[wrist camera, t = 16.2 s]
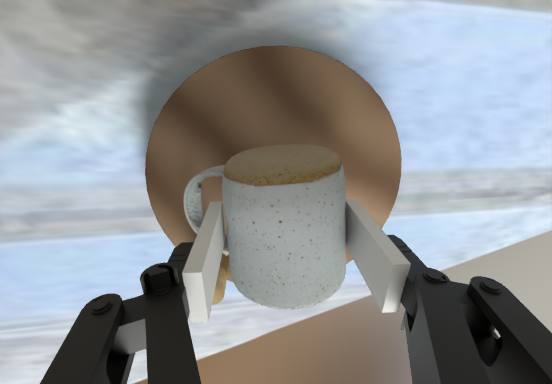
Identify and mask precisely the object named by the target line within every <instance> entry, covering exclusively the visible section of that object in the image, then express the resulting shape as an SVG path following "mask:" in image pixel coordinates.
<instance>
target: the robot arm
mask: <svg viewBox="0 0 552 384" xmlns="http://www.w3.org/2000/svg"><path fill="white" fill-rule="evenodd" d="M345 218H346V247H347V248H348V250H349V252H350V254H351V256H352V258H353V260H354V261H355V263H356V265H357V267H358V269H359V271H360V273H361V274H362V276H363V278H364V280H365V282H366V284H367V285H368V287H369V289H370V291H371V293H372V295H373V297H374V298H375V300H376V302H377V304H378V306H379V308H380V309H381V311H382V313H385V312H398V311H399V307H400V303H402V304H403V306H404V307H405V309H406V310H405V314H404V317H403V321H402V324H401V330H403V329H404V326H405V329H406V336H407V344H408V352H409V359H410V367H411V375H412V382H413V384H552V333H551V332H550V331H549V330H548V329H547V328H546V327H545V326H544V325H543V324H542V323H541V322H540V321H539V320H538V319H537V318H536V317H535V316H534V315H533V314H532V313H531V312H530V311H529V310H528V309H527V308H526V307H525V306H524V305H523V304H522V303H521V302H520V301H519V300H518V299H517V298H516V297H515V296H514V295H513V294H512V293H511V292H510V291H509V290H508V289H507V288H506V287H505V286H503V285H502V284H501V283H499V282H497V281H495V280H493V279H490V278H487V277H481V276H479V277H478V276H477V277H473V278H472V279H471V281H470V284H469V285H468V284H463V283H457V282H452V281H450V280H449V278H448V277H447V276H446V275H445V274H443V273H442V272H440V271H438V270H435V269H432V268H427V267H426V266H425V265H424V263H423V262H422V261H421V260H420V259H419V258H418V257H417V256H416V255H415V254H414V253H413V252H412V250H411V249H410V248H409V247H407V245H406V244H405V243H404V242H403V241H402V240H401V239H400V238H398V237H396V236H395V235H386V234H385V233H384V231H383V230H382V229H381V228H380V227H379V226H378V224H377V223H376V222H375V221H374V220H373V218H372V217H371V216H370V215H369V214H368V213H367V211H366V210H365V209H364V208H363V207H362V205H361V204H360V203H359V202H358V201H357V199H356V198H353V199H346V204H345ZM224 243H225V227H224V216H223V204H222V202H210V203H209V206H208V209H207V211H206V214H205V216H204V219H203V221H202V224H201V226H200V229H199V231H198V234H197V237H196V239H195V242H181V243H180V244H179V245H178V246H177V247H175V248H174V250H173V252H172V254H171V256H170V258H169V260H168V262H167V263H159V264H155V265H153V266H150V267H149V268H147V269H146V270H145V271H144V272H143V273H142V274H141V277H140V281H141V285H142V289H143V293H144V294H143V295H141V296H138V297H135V298H131V299H127V300H124V301H122V298H121V297H120V295H117V294H105V295H101V296H99V297H97V298H95V299H93V300H91V301H90V302H89V303H87V304H86V305H85V307H84V308H83V309H82V310H81V312H80V314H79V316H78V317H77V319H76V321H75V323H74V324H73V326H72V328H71V330H70V331H69V333H68V335H67V337H66V339H65V340H64V342H63V344H62V346H61V347H60V349H59V351H58V353H57V354H56V356H55V358H54V360H53V361H52V363H51V365H50V367H49V368H48V370H47V372H46V374H45V376H44V377H43V379H42V381H41V383H40V384H127V380H128V377H129V373H130V370H131V366H132V362H133V359H134V355H135V352H137V351H140V350H143V349H147V372H148V384H201V381H200V376H199V371H198V367H197V362H196V358H195V353H194V349H193V344H192V340H191V335H190V331H189V326H188V321H187V320H188V317H189V316H190V321H191V323H196V322H208V321H209V316H210V311H211V306H212V302H213V297H214V292H215V287H216V282H217V277H218V272H219V267H220V262H221V257H222V252H223V248H224ZM495 328H496V330H497V331H498V332H499V334H500V336H501V337H500V338H499V337H498V336H497V335H496V333H495V332H494V330H495Z"/></svg>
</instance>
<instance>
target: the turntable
mask: <svg viewBox="0 0 552 384" xmlns="http://www.w3.org/2000/svg"><path fill="white" fill-rule="evenodd" d="M282 144H308V145H317V146H322V147H326V148H328V149H331V150H332V151H333V152H335V153H336V154H337V155H338V156H339V158H340V159H341V161H342V165H343V169H344V175H345V185H346V199H353V198H356V199H357V201H358V202H359V203H360V204H361V205H362V207H363V208H364V209H365V210H366V211H367V213H368V214H369V215H370V216H371V217H372V218H373V220H374V221H375V222H376V223H377V224H378V226H379V227H380V228H381V229H382V227H383V225H384V224H385V222H386V220H387V219H388V217H389V214H390V212H391V210H392V208H393V205H394V203H395V200H396V196H397V193H398V189H399V183H400V177H401V151H400V143H399V139H398V135H397V131H396V127H395V125H394V122H393V120H392V118H391V115H390V113H389V111H388V109H387V108H386V106H385V104H384V103H383V101H382V99H381V98H380V96H379V95H378V94H377V93H376V92H375V90H374V89H373V88H372V87H371V86H370V84H369V83H367V82H366V81H365V80H364V79H363V78H362V77H361V76H360V75H358V74H357V73H356V72H355V71H353V70H352V69H350V68H349V67H347V66H346V65H344V64H343V63H341V62H339V61H337V60H335V59H333V58H331V57H328V56H326V55H324V54H322V53H318V52H314V51H311V50H307V49H304V48H297V47H288V46H262V47H256V48H251V49H245V50H241V51H238V52H235V53H232V54H229V55H226V56H223V57H221V58H219V59H217V60H215V61H214V62H212V63H210V64H208V65H206V66H204V67H203V68H201V69H200V70H199V71H197V72H196V73H195V74H193V75H192V76H191V77H189V78H188V79H187V80H186V81H185V82H184V83H183V84H182V85H181V86H180V87H179V88H178V89H177V90H176V91H175V92H174V93H173V95H172V96H171V97H170V99H169V100H168V101H167V103H166V104H165V106H164V107H163V109H162V111H161V113H160V114H159V116H158V118H157V120H156V122H155V124H154V127H153V130H152V133H151V136H150V139H149V143H148V148H147V154H146V169H145V175H146V184H147V191H148V195H149V199H150V203H151V206H152V209H153V211H154V214H155V216H156V219H157V221H158V222H159V224H160V226H161V227H162V229H163V231H164V233H165V234H166V235H167V237H168V238H169V239H170V241H171V242H172V243H173V244H174V245H175V246H176V247H177V246H178V245H179V244H180V243H181V242H195V239H196V237H197V234H196V233H195V232H194V230H193V229H192V228H191V226H190V224H189V222H188V220H187V218H186V215H185V211H184V204H183V198H184V191H185V188H186V186H187V184H188V182H189V181H190V180H191V179H192V178H193V177H194V176H195V175H197V174H198V173H200V172H202V171H204V170H206V169H209V168H212V167H216V166H220V165H225V164H226V163H227V161H228V160H229V159H230V158H231V157H232V156H234V155H236V154H238V153H240V152H242V151H245V150H249V149H253V148H257V147H264V146H271V145H282ZM222 178H223V177H222V176H219V177H217V176H213V177H206V178H205V179H204V180H203V181H202V183H201V186H202V190H203V191H202V193H201V199H202V210H203V214H204V215H205V214H206V211H207V209H208V206H209V203H210V202H222V204H223V196H222ZM223 216H224V227H225V234H226V235H227V228H226V218H225V211H224V205H223ZM345 246H346V245H345ZM351 260H353V258H352V256H351V254H350V252H349V250H348V248H347V247H346V264H347V263H348V262H350V261H351ZM226 280H229V281H232V282H233V280H232V276H231V271H230V261H229V252H226V251H223V252H222V257H221V262H220V267H219V272H218V277H217V282H216V287H215V292H214V297H213V302H212V305H214V304H217V303H219V302H220V301H221V300H222V299H223V297H224V293H225V286H226Z"/></svg>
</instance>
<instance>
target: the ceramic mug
mask: <svg viewBox="0 0 552 384" xmlns="http://www.w3.org/2000/svg"><path fill="white" fill-rule="evenodd" d="M213 176H217V177H219V176H222V177H223V178H222V196H223V205H224V211H225V218H226V228H227V235H226V234H225V243H224V248H223V251H226V252H229V261H230V271H231V276H232V280H233V282H234V284H235V286H236V287H237V289H238V290H239V292H240V293H242V294H243V295H244V296H245V297H247V298H248V299H250V300H252V301H253V302H255V303H258V304H261V305H264V306H267V307H270V308H276V309H300V308H305V307H309V306H313V305H315V304H318V303H320V302H323V301H325V300H326V299H328V298H329V297H331V296H332V295H333V294H334V293H335V292H336V291H337V290H338V289H339V288H340V286H341V284H342V282H343V280H344V277H345V273H346V246H345V245H346V218H345V204H346V185H345V175H344V169H343V165H342V161H341V159H340V158H339V156H338V155H337V154H336V153H335V152H333V151H332V150H331V149H328V148H326V147H322V146H317V145H308V144H282V145H271V146H264V147H257V148H253V149H249V150H245V151H242V152H240V153H238V154H236V155H234V156H232V157H231V158H230V159H229V160H228V161H227V163H226V164H225V165H220V166H216V167H212V168H209V169H206V170H204V171H202V172H200V173H198V174H197V175H195V176H194V177H193V178H192V179H191V180H190V181H189V182H188V184H187V186H186V188H185V191H184V198H183V204H184V211H185V215H186V218H187V220H188V222H189V224H190V226H191V228H192V229H193V230H194V232H195V233H196V234H198V231H199V229H200V226H201V224H202V221H203V219H204V216H205V215H204V214H203V210H202V199H201V193H202V191H203V190H202V186H201V183H202V181H203V180H204V179H205V178H206V177H213Z"/></svg>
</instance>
